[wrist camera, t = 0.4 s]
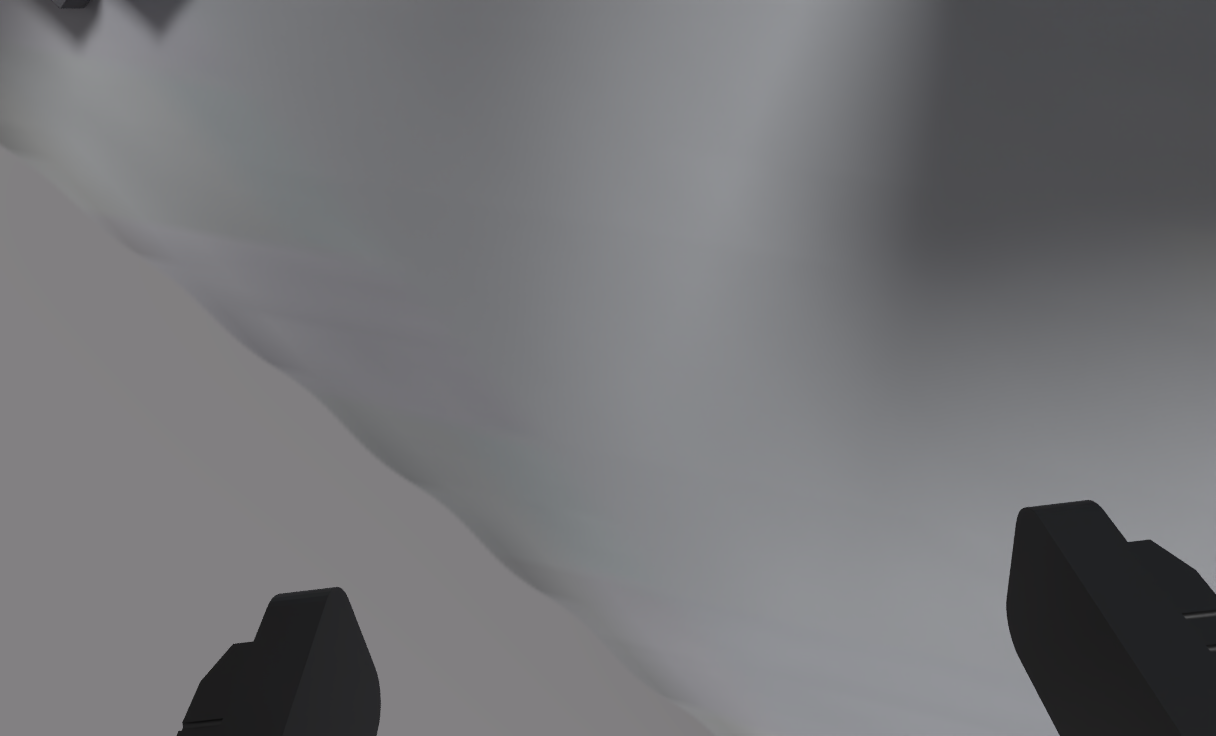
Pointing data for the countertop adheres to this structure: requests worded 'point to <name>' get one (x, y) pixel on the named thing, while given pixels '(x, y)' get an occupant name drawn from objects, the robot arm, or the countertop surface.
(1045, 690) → the robot arm
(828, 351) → the countertop surface
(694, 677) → the countertop surface
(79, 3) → the dark grey long bar
